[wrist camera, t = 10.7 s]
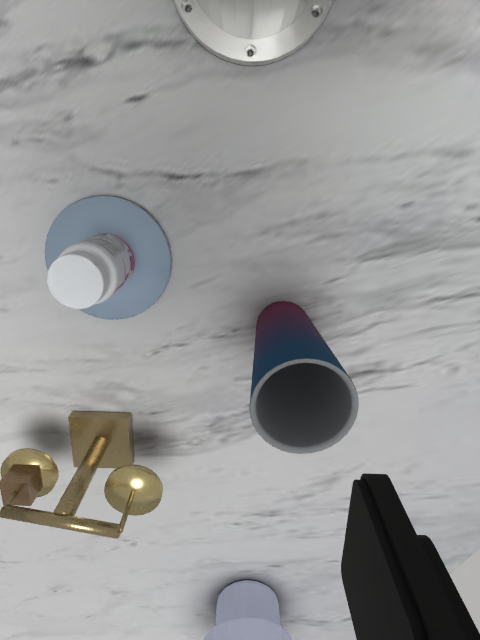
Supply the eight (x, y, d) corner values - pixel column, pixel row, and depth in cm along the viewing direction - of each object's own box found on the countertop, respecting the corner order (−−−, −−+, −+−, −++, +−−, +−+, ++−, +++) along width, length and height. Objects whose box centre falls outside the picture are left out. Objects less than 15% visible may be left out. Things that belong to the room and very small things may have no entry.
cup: (240, 351, 42) (240, 444, 28) (255, 285, 40) (262, 349, 25) (308, 364, 42) (341, 462, 28) (326, 299, 40) (372, 369, 26)
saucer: (43, 193, 37) (37, 194, 36) (170, 197, 37) (168, 198, 36) (56, 314, 41) (52, 317, 40) (172, 317, 41) (171, 321, 40)
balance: (29, 409, 44) (-52, 500, 32) (174, 414, 44) (148, 506, 32) (36, 458, 46) (-38, 561, 34) (175, 462, 46) (151, 566, 34)
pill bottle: (126, 294, 39) (95, 325, 31) (75, 272, 38) (32, 298, 30) (144, 246, 37) (118, 266, 30) (92, 223, 37) (51, 237, 29)
